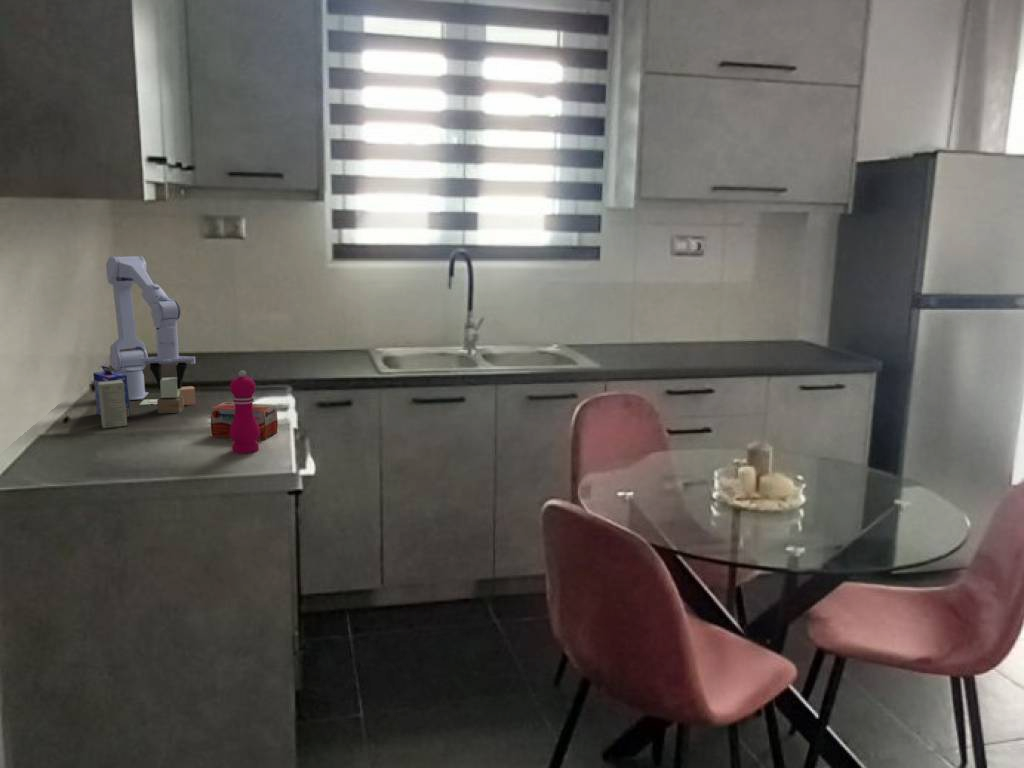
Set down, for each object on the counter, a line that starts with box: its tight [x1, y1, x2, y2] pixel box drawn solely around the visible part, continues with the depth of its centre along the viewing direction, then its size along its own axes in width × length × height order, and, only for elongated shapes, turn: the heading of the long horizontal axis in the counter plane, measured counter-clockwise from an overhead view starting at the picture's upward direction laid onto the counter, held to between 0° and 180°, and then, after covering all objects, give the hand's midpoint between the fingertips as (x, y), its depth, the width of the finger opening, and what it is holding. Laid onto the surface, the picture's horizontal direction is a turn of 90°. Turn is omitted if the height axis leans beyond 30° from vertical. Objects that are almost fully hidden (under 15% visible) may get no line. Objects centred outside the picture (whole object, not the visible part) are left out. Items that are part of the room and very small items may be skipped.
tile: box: [139, 398, 159, 406], centre depth 264 cm, size 7×7×1 cm
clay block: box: [179, 385, 197, 406], centre depth 263 cm, size 4×4×5 cm
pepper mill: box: [229, 369, 260, 454], centre depth 212 cm, size 7×7×20 cm
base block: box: [157, 396, 185, 414], centre depth 254 cm, size 6×6×4 cm
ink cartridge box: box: [92, 365, 131, 418], centre depth 246 cm, size 10×6×14 cm, turn 51°
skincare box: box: [98, 380, 128, 429], centre depth 234 cm, size 6×4×12 cm
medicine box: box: [210, 402, 279, 441], centre depth 227 cm, size 15×8×8 cm, turn 82°
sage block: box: [159, 377, 180, 398], centre depth 253 cm, size 4×4×5 cm
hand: (170, 388), depth 253 cm, fingers closed on sage block, 4 cm apart
